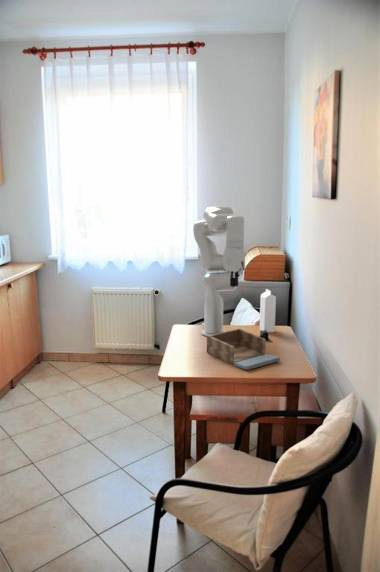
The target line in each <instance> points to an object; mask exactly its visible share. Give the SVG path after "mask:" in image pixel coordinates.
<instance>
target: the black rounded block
mask: <svg viewBox="0 0 380 572" xmlns="http://www.w3.org/2000/svg"><path fill="white" fill-rule="evenodd" d="M258 336H259V337H262V338H264V339H266V341H267V342H269V343H273V341H272V340H271V339H270V338H269V332H267V331H266V330H260V332H259V335H258ZM266 341H265V342H266Z"/></svg>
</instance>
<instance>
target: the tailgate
mask: <svg viewBox="0 0 380 572" xmlns="http://www.w3.org/2000/svg"><path fill="white" fill-rule="evenodd" d="M280 361H281V357H279V356H276V355H271V354H268V353H265V355H261V356H257V357H254V358H250V359H246V360H242V361H239V362H235V363H234V364H233V365H234V366H235V367H237V368H240V369H243V370H246V371H248V370H252V369H255V368H260V367H263V366H265V365H269V364H274V363H276V362H277V363H278V362H280Z"/></svg>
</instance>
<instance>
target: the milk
mask: <svg viewBox="0 0 380 572" xmlns="http://www.w3.org/2000/svg"><path fill="white" fill-rule="evenodd" d="M276 304H277V296H276V295H274V294H272V290H270V289H268V288H265V292H262V293H261V294H260V304H259V305H260V307H259V330H260V331H261V330H266V331H267V332H268V333H274V332H275V330H276Z"/></svg>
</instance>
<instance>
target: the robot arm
mask: <svg viewBox="0 0 380 572" xmlns="http://www.w3.org/2000/svg"><path fill="white" fill-rule="evenodd" d="M203 218H204V219H199V220H198V221H196V222H195V223H193V229H192V231H193V237H194V240H195V242H196V244H197V246H198V249H199V254H200V259H201V263H202V268H203V270H204V271H205V272H206V274H205V275H204V276H203V277H202V287H203V295H204V309H203V310H204V313H203V314H204V316H203V317H204V318H203V320H204V321H203V323H201V327H203V328H202V329H201V331H200V334H201V335H203V336H206V337H207V336H209V335H213V334H218V333H223V332H227V330H225V329H224V299H223V297H222V296H221V294H220V293H219V292H231V291H235V290H236V289H237V287H238V286H239V278H240V276H241V275H244V271H245V268H246V256H245V255H246V253H245V248H244V246H245V245H244V244H245V217H244V216H242V215H239V214H237V213H234V211H233V209H232V207H230V206H224V205H222V206H219V205H217V206H209V207H207V208H206V209H205V210H204V212H203ZM223 236H226V238H225V239H226V243H225V248H224V252H223V253H221V252H220V253H219V252H218V251H217V246H216V244H215V242H214V241H212V240H211V238H209V237H223Z"/></svg>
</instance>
